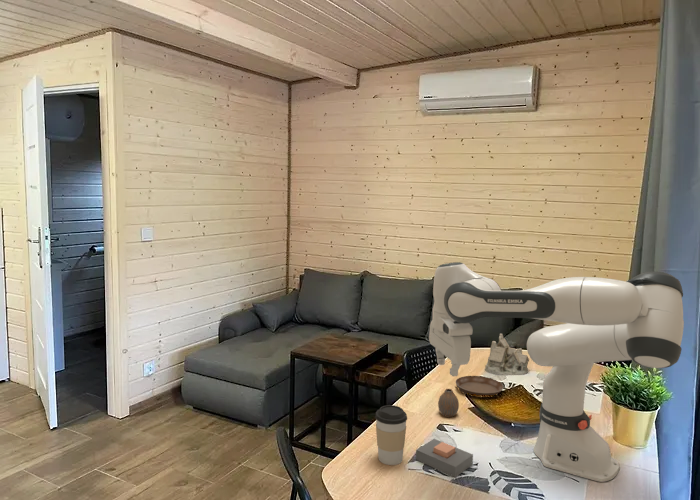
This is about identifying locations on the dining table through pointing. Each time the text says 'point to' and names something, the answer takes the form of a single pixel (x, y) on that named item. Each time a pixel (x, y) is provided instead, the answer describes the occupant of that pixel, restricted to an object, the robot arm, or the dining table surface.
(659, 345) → the robot arm
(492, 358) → the ceramic cottage
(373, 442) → the dining table surface
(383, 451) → the coffee cup
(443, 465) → the block
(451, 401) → the vase
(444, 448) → the button
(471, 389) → the plant saucer
